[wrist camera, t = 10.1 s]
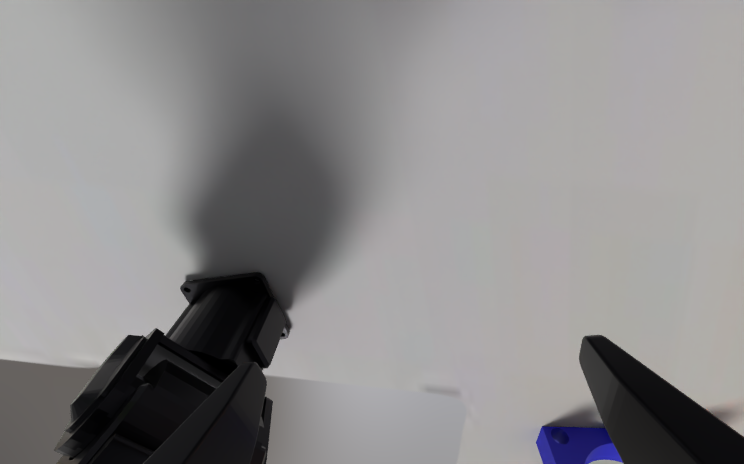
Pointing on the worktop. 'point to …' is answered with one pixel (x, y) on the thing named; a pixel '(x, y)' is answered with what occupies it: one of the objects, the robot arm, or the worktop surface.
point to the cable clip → (575, 445)
